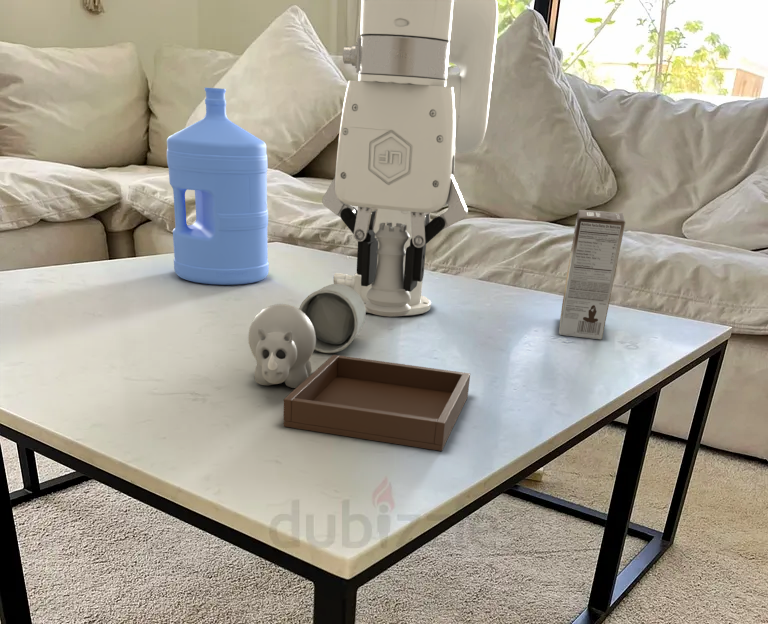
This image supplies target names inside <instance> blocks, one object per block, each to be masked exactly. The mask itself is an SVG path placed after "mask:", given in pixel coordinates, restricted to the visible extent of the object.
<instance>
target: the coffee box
mask: <svg viewBox="0 0 768 624" xmlns="http://www.w3.org/2000/svg"><path fill="white" fill-rule="evenodd" d="M625 226H626V219H625V217H624V214H623V212H612V211H603V210H602V211H600V210H590V209H589V210H588V209H578V210H577V215H576V219H575V225H574V230H573V237H572V243H571V249H570V254H569V260H568V266H567V272H566V279H565V285H564V292H563V298H562V304H561V312H560V316H559V317H560V318H559V329H558V335H560V336H566V337H575V338H586V339H594V340H603V337H604V331H605V326H606V322H607V316H608V310H609V306H610V301H611V297H612V293H613V292H612V291H613V285H614V281H615V276H616V272H617V267H618V262H619V257H620V251H621V248H622V247H621V246H622V241H623V237H624V232H625Z"/></svg>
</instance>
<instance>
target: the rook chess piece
mask: <svg viewBox="0 0 768 624" xmlns="http://www.w3.org/2000/svg"><path fill="white" fill-rule="evenodd" d="M406 228H407V225H405V224H401V223H396V226H394V227H392V222H387V225H385V223H380V224H379V230H378V231H377V233H376V234H375V236H376V238H377V239H378V241H379V249H378V250H377V251H376V252H377V253H378V265H377V271H376V276H375V279H374V282H373V283H372V284H371V285H372V287H371V288H370V289H369V291H368V292H367V295H366V297H367V298H368V300H369V302H367V303H366V305H365V306H366V308H367V310H368V311H369V312H370V313H369V314H373V315H375V316H380V317H381V316H382V317H402V316H403V315H405V314H407V313H408V312H409V310H410V308H411V307H410V306H409V305H408V304H407V303H408V302H409V301H410V299H411V296H410V293H409V292H408V291H405V289H403V284H404V265H403V263H404V256H405V255H406V252H405V250H404V245H405V243H406V241H407V240H408V239H409V237H410V236H409V234H408V232H407V231H406ZM403 317H404V316H403Z"/></svg>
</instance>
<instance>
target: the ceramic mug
mask: <svg viewBox="0 0 768 624" xmlns="http://www.w3.org/2000/svg"><path fill="white" fill-rule="evenodd" d="M298 309H299V310H301V311H302V312H303V313H305V314H306V315H307V317H308V318H309V319H310V321H311V322H312V324H313V327H314V330H315V335H316V344H315V349H314V351H317V352H319V353H322V354H323V353H324V354H334V353H339V352H341V351H343V350H345V349H346V348H348V347H349V346H350V345H351V344H352V343H353V341H354V339H355V338H356V337H357V336H358V334H359V333H360V332H361V331H362V329H363V327H364V324H365V321H366V317H367V316H366V313H367V312H366V310H365V305H364V302H363V300H362V298H361V296H360V295H359V294H358V293H357V292H356V291H355V290H354V289H352V288H350V287H348V286H346V285H342V284H334V283H332V284H328V285H326V286H323V287H321V288H319V289H318V290H316V291H313V292H311V293H310V294H309V295H308V296H306V297H305V299H304V300H303V301H302V302H301V303H300V305H299V308H298Z"/></svg>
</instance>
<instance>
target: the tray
mask: <svg viewBox="0 0 768 624" xmlns="http://www.w3.org/2000/svg"><path fill="white" fill-rule="evenodd" d="M470 379H471V373H470V372H463V371H454V370H450V369H449V370H448V369H441V368H435V367H426V366H418V365H412V364H405V363H397V362H390V361H382V360H376V359H367V358H361V357H353V356H346V355H337V354H332V355H331V356H330V357H329V358H328V359H327V360H325V361H324V363H322V364H320V366H319V367H318V368H317V369H315V370H314V371H313V372H311V374H310V375H309V376H308V378H307V379H306V380H305V381H303V382H302V383H301V384H300V385H299V386H298V387H297V388H294V389H293V390H291V392H290V393H288V395H287V396H285V398H283V427H286V428H292V429H299V430H305V431H310V432H317V433H323V434H324V433H325V434H330V435H336V436H342V437H348V438H355V439H362V440H369V441H375V442H380V443H381V442H382V443H387V444H394V445H401V446H406V447H411V448H412V447H413V448H420V449H425V450H433V451H438V452H439V451H440V452H442V451H443V450H444V447H445V446H446V443H447V441H448V440H449V437H450V435H451V433H452V431H453V429H454V427H455V424H456V422H457V421H458V418H459V416H460V414H461V412H462V410H463V408H464V406H465V404H466V401H467V399H468V397H469V389H470Z"/></svg>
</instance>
